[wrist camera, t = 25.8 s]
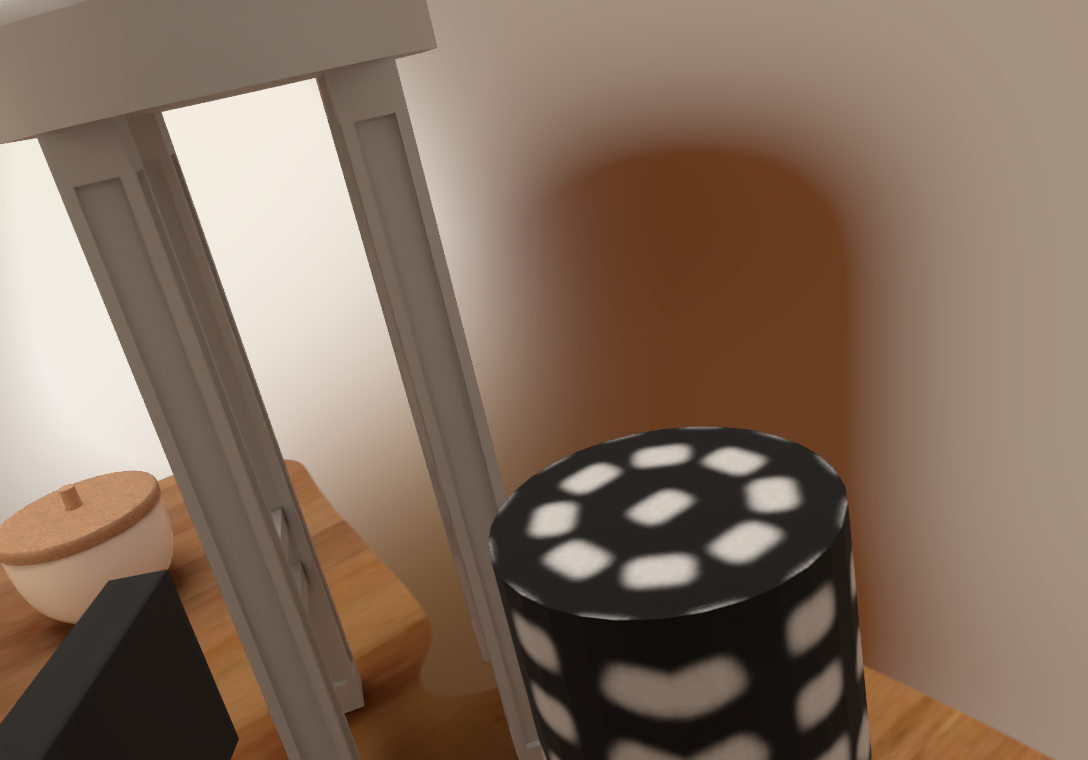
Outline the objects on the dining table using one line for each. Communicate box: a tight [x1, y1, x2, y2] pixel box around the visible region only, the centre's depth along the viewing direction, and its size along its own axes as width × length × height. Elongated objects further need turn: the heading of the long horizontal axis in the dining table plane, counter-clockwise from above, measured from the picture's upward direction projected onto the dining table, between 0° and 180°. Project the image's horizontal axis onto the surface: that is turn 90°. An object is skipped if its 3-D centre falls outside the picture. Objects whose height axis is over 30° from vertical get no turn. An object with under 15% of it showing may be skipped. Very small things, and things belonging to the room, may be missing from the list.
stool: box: [0, 0, 544, 760], centre depth 38 cm, size 16×16×35 cm
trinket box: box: [0, 471, 173, 625], centre depth 61 cm, size 11×11×9 cm
